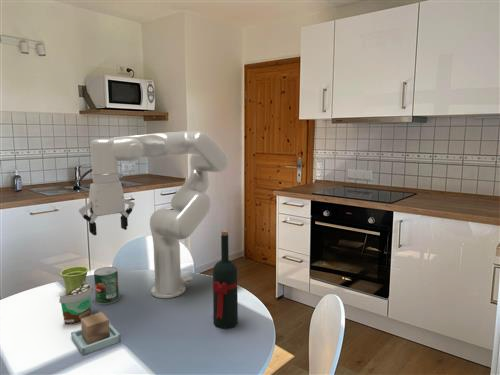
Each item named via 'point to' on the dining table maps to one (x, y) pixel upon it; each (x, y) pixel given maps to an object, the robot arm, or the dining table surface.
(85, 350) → the tray
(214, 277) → the wine bottle
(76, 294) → the food container
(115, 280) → the canned tomato
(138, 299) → the dining table surface
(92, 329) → the cube
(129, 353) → the dining table surface
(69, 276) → the plant pot
